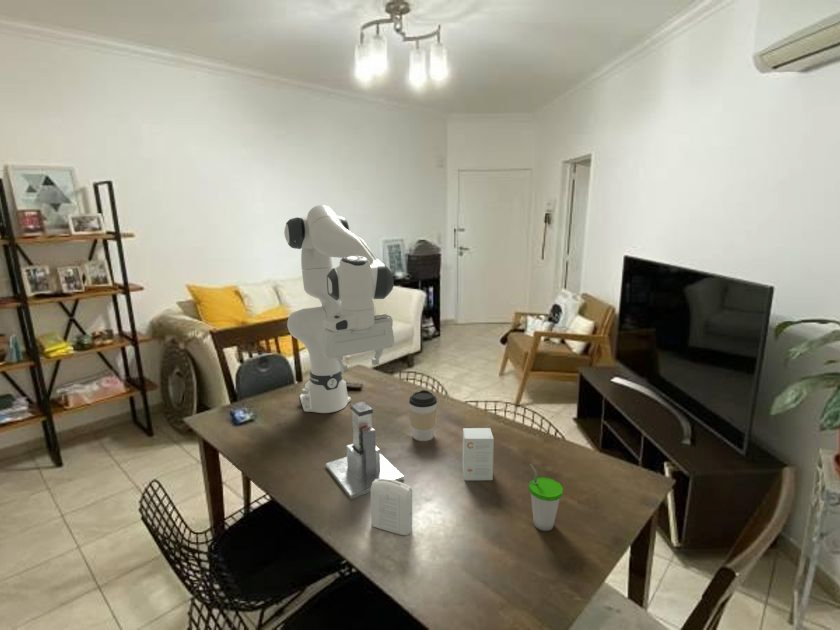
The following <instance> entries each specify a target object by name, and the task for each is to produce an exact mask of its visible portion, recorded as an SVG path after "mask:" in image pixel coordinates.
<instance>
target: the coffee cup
mask: <svg viewBox="0 0 840 630" xmlns="http://www.w3.org/2000/svg"><path fill="white" fill-rule="evenodd" d="M408 400H409V407H410V408H409V411H410V413H409V414H410V424H411V425H410V426H411V431H412V437H413V439H414V440H416V441H420V442H428V441H430V440H431V441H432V439H433V438H434V435H435V425H436V416H437V415H436V414H437V403H438V402H437V396H435V395H434V394H433V393H432V392H430V391H429V390H427V389H426V390H425V389H423V390H420V391H416V392H414V393H413V394H412V395H411V396H410V397H409V399H408Z"/></svg>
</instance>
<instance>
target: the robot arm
mask: <svg viewBox="0 0 840 630" xmlns="http://www.w3.org/2000/svg"><path fill="white" fill-rule="evenodd" d="M283 234H284V238H285V240H286V243H287V244H288V246H289V247H290V248H292V249H295V250H296V249H297V250H301V251H300V253H301V255H300V256H301V259H300V260H301V276H302V283H303V290H304V291H305V293H306V294H307V295H308V296H311V297H313V298H316V299H318V300H319V301H320V303H321V306H316V307H307V308H302V309H299V310H295V311H293V312H291V313H290V315H289V316H288V319H287V323H286V327H287V329H288V332H289V334H290V335H291V336H292V337H293V338H295V339H296V340H298V341H299V342H300V343H302V344H303V345H304V346H305V348H306V350H307V353H308V357H309V362H310V363H309V364H310V372H309V380H308V381H307V382H306V383H305V385H304V388H302V389H301V394H300V395H299V400H300V402H301V405H302V409H303V411H304V412H307V413H308V412H311V413H317V414H319V413H320V414H330V413H335V412H339V411H340V410H342V409H344V408H345V407H347V406H348V405H347V404H348V403H349V402H351V400H352V398H351V396H348V389H347V388H348V387H347V381H345V380H344V379H343V373H346V372H348V364H347V363H343V362H342V361H343V360H344V357H346V356H353V355H356V354H361V353H367V352H372V351H374V352H375V355H374V356H373V357H371V364H372V365H373V366H378V365H380V359H381V357H382V355H383V353H384V351H383V350H384V349H388V348H392V347H393V346H394V345H395V335H394V334H395V333H394V330H393V326H394V325H393V318H392V316H391V315H389V314H387V313H384V314H377V315H375V304H374V301H373V300H384V299H386V297H387V296H389V295H390V294H391V292H392V291H393V289H394V285H395V281H394V276H393V273H392V271H391V270H390V268H389V267H388V266H387V265H386V264H384V263H383V262H381V260H380V258H378V257H377V255H376V254H375V253H374V251H372V249H371V247H370V246H368V244H367V243H366V242H365V241H364V240H363V239H362V238H361V237H360V236H358V235H356V234H355V233H353V232H352V231H351V230H350V226H349V222H348V220H347V219H346V217H344V216H341V215H338V214H337V213H336V211H334V210H333V209H332V208H331V207H330V206H327V205H324V204H318V205H315V206H313V207H311V209H310V210H309V211H308V213H307V216H303V217H297V216H296V217H293V218H290V219H289V220H287V222H285V227H284V233H283ZM332 258H340V260H339V265H338V266H336V267H334V266H333V261H332Z"/></svg>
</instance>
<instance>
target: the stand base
mask: <svg viewBox="0 0 840 630" xmlns="http://www.w3.org/2000/svg"><path fill="white" fill-rule="evenodd" d="M362 432H363V453H360V454H358V453H357V452H356V451H355V450H354V445H353V443H351V444H348V445H346V456H345V457H342V458H339V459H335V460H332V461H329V462H326V463H325V468H326V469H327V470H328V471H329V472H330V475H332V477H333V478H334V479H335V481H336V482H337V483H338V484H339V486H340V487H341V489H342V490H343V491H344V492H345V493H346V495H347V496H348V497H349V499H350V500H354V499H355V498H359V497H361V496H363V495H367V494H369V493H370V494H371V485H372V482H373V481H374V480H375V479H391V480H395V481H398V482H402V481H404V480H405V479H404V478H405V476H404V475H403V474H402V472H400V471H399V470H398V469H397V467H395V466H394V465H393V464H392V463H391V462H390V461H389V460H388V459H387V458H385V456H384V455H383V454H382V453H380V448H379V447H378V446H377V445H376V444H377V443H376V429H374V428H373V427H372V428H371V427H367V428H364V429H362Z"/></svg>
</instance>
